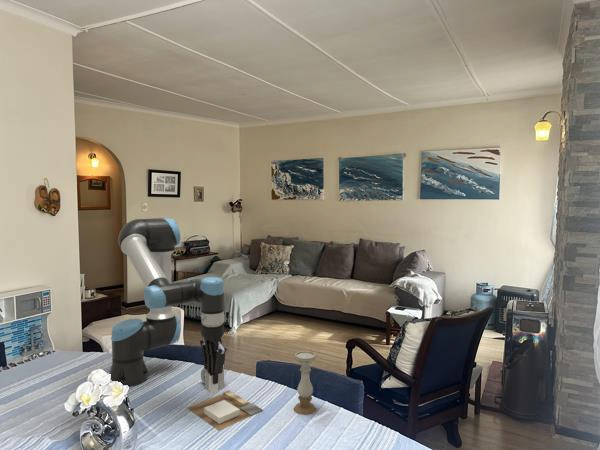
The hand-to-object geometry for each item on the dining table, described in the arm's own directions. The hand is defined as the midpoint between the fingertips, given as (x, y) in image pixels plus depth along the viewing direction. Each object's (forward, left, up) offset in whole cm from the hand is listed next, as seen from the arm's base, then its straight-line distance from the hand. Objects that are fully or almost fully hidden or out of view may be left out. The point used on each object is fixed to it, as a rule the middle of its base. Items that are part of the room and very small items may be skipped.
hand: (213, 391), depth 145 cm
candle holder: (+21, +23, -8) cm, 32 cm away
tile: (0, 0, -5) cm, 5 cm away
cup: (-17, +10, -8) cm, 21 cm away
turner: (+2, +9, -6) cm, 11 cm away
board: (+2, +3, -8) cm, 8 cm away
